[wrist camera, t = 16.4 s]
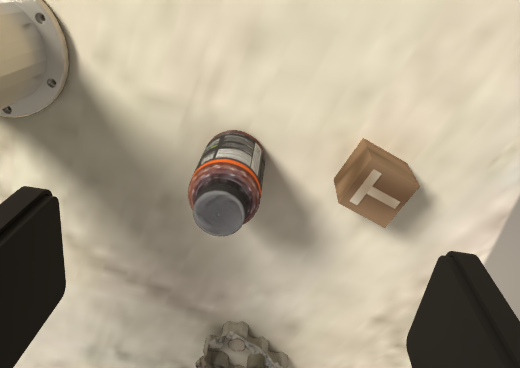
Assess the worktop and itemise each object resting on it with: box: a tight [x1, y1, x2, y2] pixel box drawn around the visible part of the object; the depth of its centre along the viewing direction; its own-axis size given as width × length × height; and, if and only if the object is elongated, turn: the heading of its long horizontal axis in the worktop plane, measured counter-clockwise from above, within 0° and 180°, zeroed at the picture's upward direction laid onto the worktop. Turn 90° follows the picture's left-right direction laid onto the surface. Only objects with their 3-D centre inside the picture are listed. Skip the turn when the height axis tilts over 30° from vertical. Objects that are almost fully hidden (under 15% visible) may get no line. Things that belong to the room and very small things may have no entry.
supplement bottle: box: [188, 130, 265, 236], centre depth 37 cm, size 6×6×11 cm
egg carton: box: [196, 321, 288, 368], centre depth 53 cm, size 11×8×4 cm
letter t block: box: [334, 138, 420, 228], centre depth 40 cm, size 5×5×5 cm
